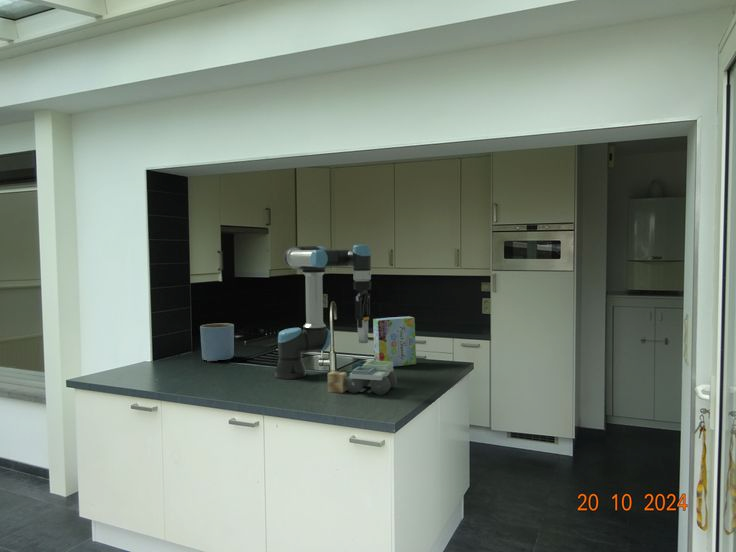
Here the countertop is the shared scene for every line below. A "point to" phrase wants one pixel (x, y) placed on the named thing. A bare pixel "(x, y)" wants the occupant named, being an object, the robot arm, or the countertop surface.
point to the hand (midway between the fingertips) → (363, 334)
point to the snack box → (395, 340)
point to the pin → (364, 337)
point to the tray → (379, 365)
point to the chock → (336, 382)
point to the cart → (364, 376)
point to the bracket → (353, 368)
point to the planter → (217, 341)
